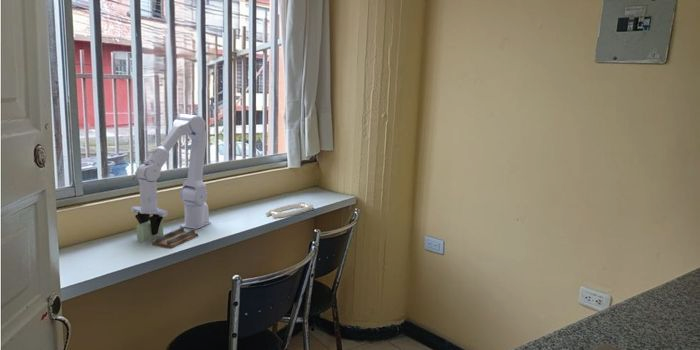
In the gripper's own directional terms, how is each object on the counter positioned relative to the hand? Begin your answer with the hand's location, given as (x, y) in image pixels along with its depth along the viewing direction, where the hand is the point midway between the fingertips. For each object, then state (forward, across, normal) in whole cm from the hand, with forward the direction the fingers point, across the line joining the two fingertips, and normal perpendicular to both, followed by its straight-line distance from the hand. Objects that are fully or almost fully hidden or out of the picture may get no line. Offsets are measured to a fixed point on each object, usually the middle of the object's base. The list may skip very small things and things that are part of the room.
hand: (150, 233), depth 179 cm
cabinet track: (+2, +10, +2) cm, 10 cm away
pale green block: (+2, 0, 0) cm, 2 cm away
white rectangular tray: (+2, +30, +54) cm, 62 cm away
